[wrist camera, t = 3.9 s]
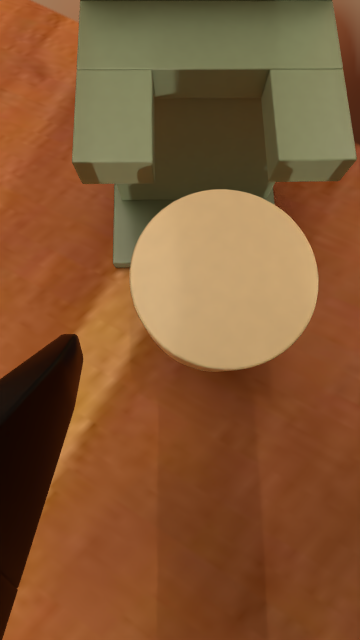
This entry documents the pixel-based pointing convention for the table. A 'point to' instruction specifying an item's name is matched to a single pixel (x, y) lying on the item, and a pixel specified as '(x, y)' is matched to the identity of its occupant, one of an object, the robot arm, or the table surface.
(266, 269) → the peg
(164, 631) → the table surface
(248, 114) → the stand
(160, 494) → the table surface
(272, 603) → the table surface
